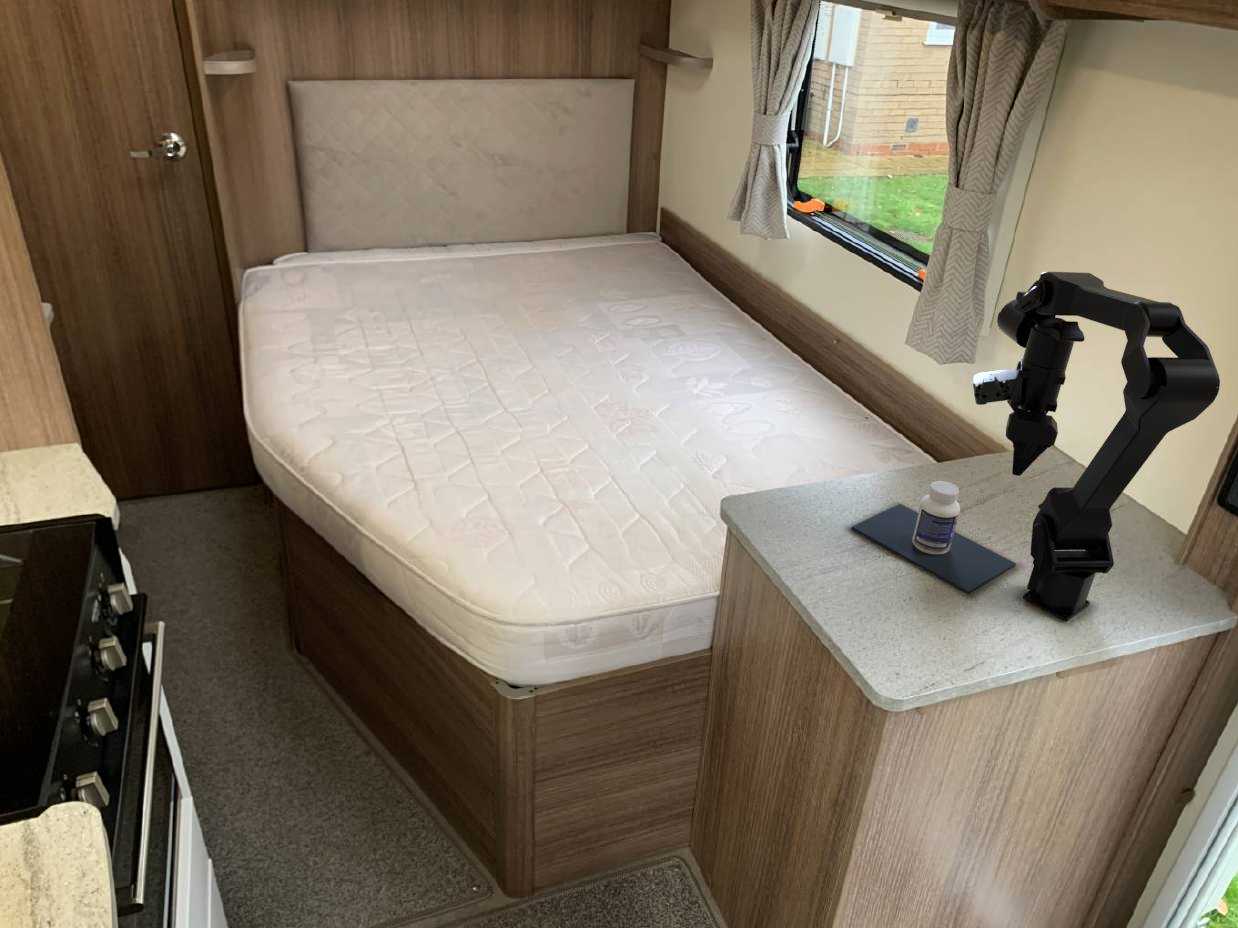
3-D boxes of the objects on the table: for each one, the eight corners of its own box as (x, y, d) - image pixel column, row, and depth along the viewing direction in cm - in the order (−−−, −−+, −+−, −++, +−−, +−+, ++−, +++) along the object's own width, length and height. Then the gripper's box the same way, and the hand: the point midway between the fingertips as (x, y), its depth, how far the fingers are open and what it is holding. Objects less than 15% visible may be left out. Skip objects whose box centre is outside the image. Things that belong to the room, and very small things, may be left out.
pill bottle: (954, 557, 136) (970, 498, 132) (916, 554, 136) (931, 496, 131) (943, 536, 141) (958, 479, 136) (907, 534, 141) (921, 477, 136)
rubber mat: (1015, 566, 136) (1016, 563, 136) (968, 594, 129) (968, 591, 129) (899, 506, 149) (900, 503, 149) (851, 529, 142) (851, 526, 142)
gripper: (986, 330, 141) (962, 425, 149) (981, 373, 126) (955, 477, 133) (1066, 343, 138) (1038, 439, 145) (1071, 390, 123) (1039, 494, 130)
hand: (1016, 461), depth 139 cm, fingers open, 9 cm apart
